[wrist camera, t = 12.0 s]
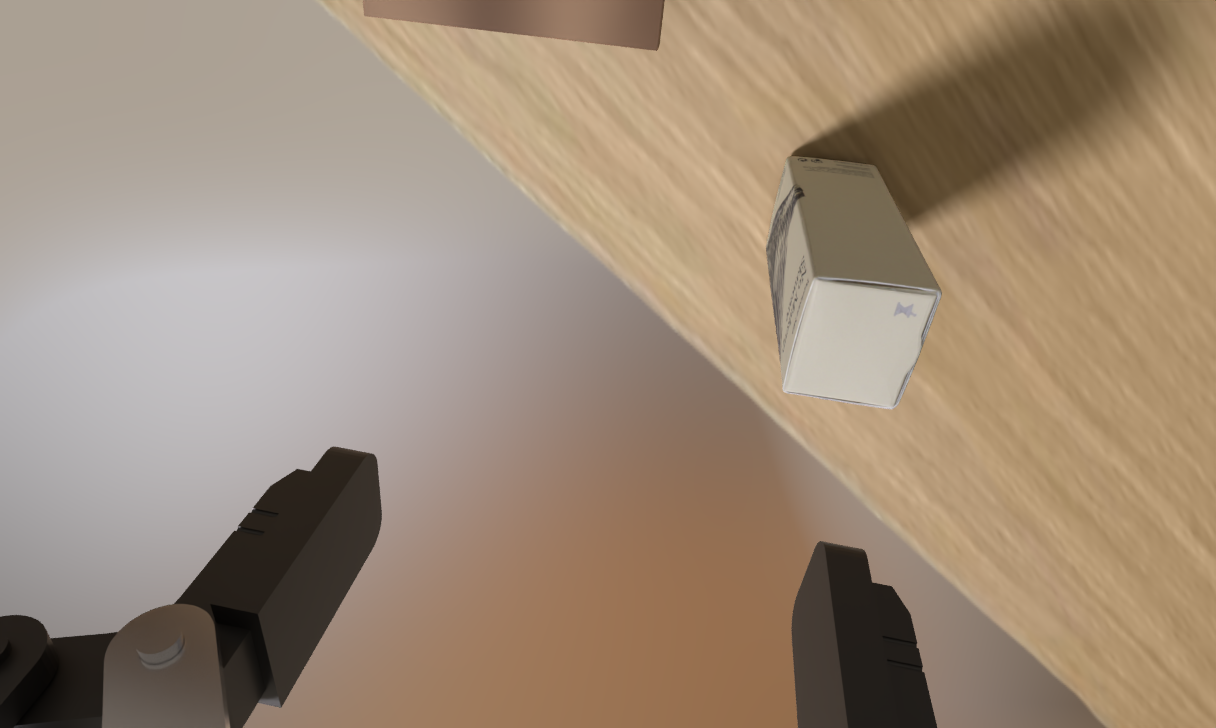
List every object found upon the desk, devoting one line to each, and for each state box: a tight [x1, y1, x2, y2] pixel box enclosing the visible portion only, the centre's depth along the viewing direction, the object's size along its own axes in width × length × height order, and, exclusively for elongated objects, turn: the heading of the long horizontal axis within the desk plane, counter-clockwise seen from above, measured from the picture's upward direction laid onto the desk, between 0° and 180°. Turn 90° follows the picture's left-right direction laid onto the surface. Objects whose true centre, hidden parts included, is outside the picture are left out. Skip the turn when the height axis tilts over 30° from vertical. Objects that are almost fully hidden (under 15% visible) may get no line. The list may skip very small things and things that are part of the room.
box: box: [766, 156, 942, 409], centre depth 30 cm, size 5×4×13 cm
